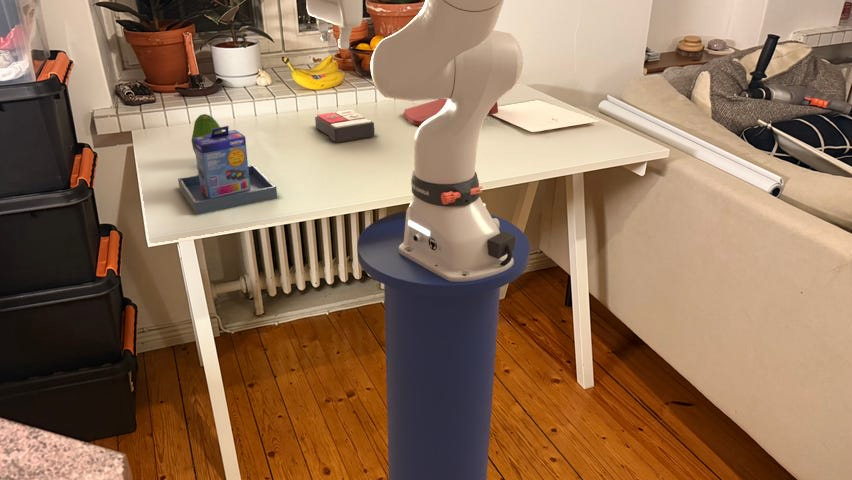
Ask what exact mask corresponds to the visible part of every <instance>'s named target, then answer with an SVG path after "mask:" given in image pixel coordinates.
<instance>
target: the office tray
mask: <svg viewBox="0 0 852 480" xmlns="http://www.w3.org/2000/svg"><path fill="white" fill-rule="evenodd" d="M248 171H249V181H250V190H246V191H242V192H238V193H233V194H229V195H225V196H221V197H216V198H212V199H208V198H207V197H206V196H205V195H204V194H203V193H202V192H201V188H200V181H199V174H195V175H191V176H184V177H180V178H179V177H178V178H177V182H178V188H179V191H180V192H181V194H182V195H183V197H184V198H185V200H186V201H187V203H188V204H189V206H190V207H191V208H192V210H193V211H194V213H195V214H196V215H200V214H205V213H210V212H216V211H220V210H225V209H230V208H235V207H239V206H245V205H248V204H254V203H259V202H263V201H268V200H273V199H278V190H277V186H276V185H275V184H274V183H273V182H272V181H271V180H270V179H269V178H268V177H267V176H266V175H265V174H264V173H263V172H262V171H261V170H260V169H259V168H258V167H257V166H256V165H255V164H250V165H248Z"/></svg>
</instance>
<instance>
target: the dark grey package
mask: <svg viewBox="0 0 852 480" xmlns="http://www.w3.org/2000/svg"><path fill="white" fill-rule="evenodd" d="M314 123H315V128H316V129H317V130H319V131H321V132H322V133H324V134H325V135H327V136H328V137H329V138H330V140H331V141H333V142H335V143H341V142H347V141H353V140H358V139H359V140H360V139H366V138H371V137H375V122H373V121H372V120H370V119H369V118H366V117H365V116H364V115H362V114H360V113H357V112H356V111H354V110H352V109H346V110H340V111H335V112H326V113H319V114H316V116H315V117H314Z"/></svg>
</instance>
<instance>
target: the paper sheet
mask: <svg viewBox="0 0 852 480" xmlns="http://www.w3.org/2000/svg"><path fill="white" fill-rule="evenodd" d="M488 114H490V113H489V112H488ZM490 115H491V116H494V117H496V118H499V119H501V120H503V121H506V122H507V123H510V124H512V125H514V126H517V127H519V128H521V129H524V130H526V131H528V132H531V133H536V132H542V131H550V130H555V129H561V128H567V127H571V126H573V127H574V126H579V125H584V124H590V123H597V122H599V119H595V118H592V117H590V116H586V115H583V114H581V113H578V112H575V111H572V110H569V109H566V108H563V107H560V106H558V105H554V104H552V103H549V102H545V101H543V100H540V99H535V100H530V101H523V102H517V103H512V104H506V105H500V106H499V105H498V113H495V114H490Z"/></svg>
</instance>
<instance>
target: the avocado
mask: <svg viewBox="0 0 852 480" xmlns="http://www.w3.org/2000/svg"><path fill="white" fill-rule="evenodd" d="M220 127H221V126H220V124H219V122H217V120H216V119H215V118H214V117H213V116H212V115H210V114H207V113H203V114H200V115H199V116H198V117H197V118H196V119H195V121H194V125H193V131H192V136H191V145H192V150H193V152H194V153H195V148H194V142H193V138H196V137H200V136H205V135H209V134H211V133H212V129H215V128H220ZM219 132H224V130H219V131H216V132H215V133H219Z"/></svg>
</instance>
